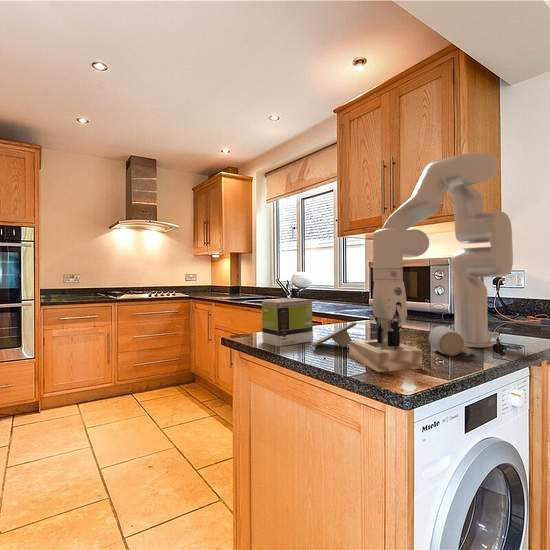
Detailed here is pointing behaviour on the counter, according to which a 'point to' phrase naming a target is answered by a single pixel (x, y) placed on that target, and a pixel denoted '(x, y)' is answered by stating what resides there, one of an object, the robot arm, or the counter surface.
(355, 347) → the well block
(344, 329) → the beige double panel block
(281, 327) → the tea box
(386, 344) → the wood grain block
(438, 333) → the ceramic mug
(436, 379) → the counter surface
